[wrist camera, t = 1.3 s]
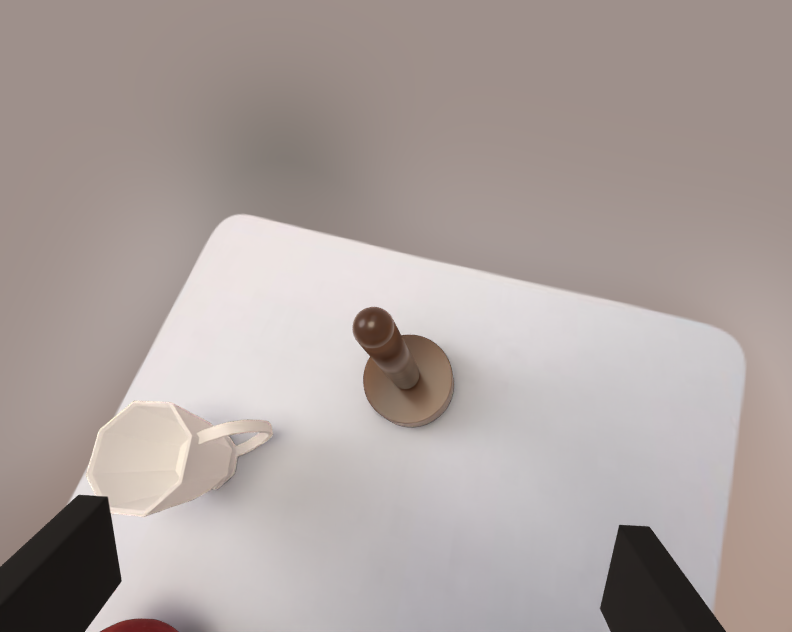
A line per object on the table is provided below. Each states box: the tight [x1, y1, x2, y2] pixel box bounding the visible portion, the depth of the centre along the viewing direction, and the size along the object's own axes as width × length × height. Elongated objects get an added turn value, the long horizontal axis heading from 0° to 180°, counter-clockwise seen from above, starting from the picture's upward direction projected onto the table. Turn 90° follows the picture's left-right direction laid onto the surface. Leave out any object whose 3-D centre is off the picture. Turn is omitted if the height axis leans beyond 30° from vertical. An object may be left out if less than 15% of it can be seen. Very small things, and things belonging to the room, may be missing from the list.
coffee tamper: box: [352, 307, 454, 427], centre depth 26 cm, size 6×6×14 cm
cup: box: [86, 401, 273, 517], centre depth 30 cm, size 7×10×8 cm
